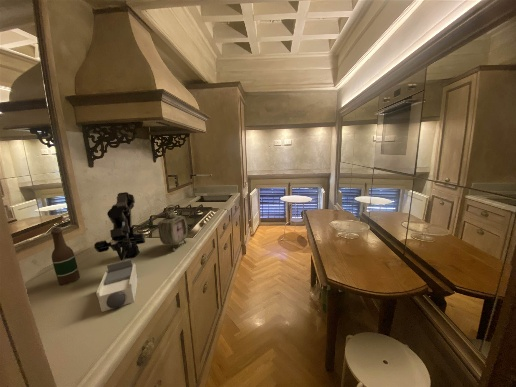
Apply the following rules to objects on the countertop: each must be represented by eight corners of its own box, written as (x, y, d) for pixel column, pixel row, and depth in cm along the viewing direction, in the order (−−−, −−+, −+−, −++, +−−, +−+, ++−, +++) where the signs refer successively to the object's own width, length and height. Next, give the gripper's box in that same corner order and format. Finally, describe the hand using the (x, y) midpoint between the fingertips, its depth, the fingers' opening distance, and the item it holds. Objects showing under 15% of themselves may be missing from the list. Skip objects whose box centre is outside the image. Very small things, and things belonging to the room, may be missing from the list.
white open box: (109, 287, 88) (106, 270, 87) (138, 279, 93) (135, 263, 91) (100, 314, 73) (95, 295, 71) (134, 303, 77) (130, 285, 76)
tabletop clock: (174, 253, 115) (167, 208, 110) (160, 252, 117) (153, 208, 112) (189, 241, 129) (184, 201, 123) (177, 240, 131) (171, 201, 126)
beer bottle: (62, 278, 97) (48, 229, 92) (83, 273, 100) (71, 225, 95) (54, 287, 90) (39, 235, 85) (77, 282, 93) (63, 231, 88)
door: (109, 272, 87) (107, 264, 87) (132, 267, 91) (131, 258, 90) (105, 284, 79) (102, 275, 79) (130, 277, 83) (128, 268, 82)
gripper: (90, 224, 90) (88, 259, 82) (140, 216, 97) (142, 248, 90) (98, 236, 98) (98, 268, 91) (144, 227, 106) (146, 257, 98)
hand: (121, 260), depth 92 cm, fingers closed
